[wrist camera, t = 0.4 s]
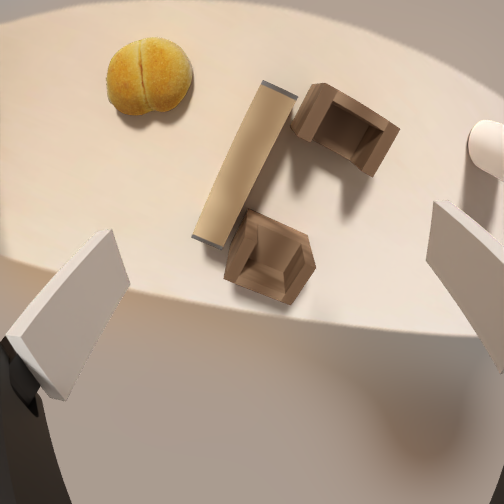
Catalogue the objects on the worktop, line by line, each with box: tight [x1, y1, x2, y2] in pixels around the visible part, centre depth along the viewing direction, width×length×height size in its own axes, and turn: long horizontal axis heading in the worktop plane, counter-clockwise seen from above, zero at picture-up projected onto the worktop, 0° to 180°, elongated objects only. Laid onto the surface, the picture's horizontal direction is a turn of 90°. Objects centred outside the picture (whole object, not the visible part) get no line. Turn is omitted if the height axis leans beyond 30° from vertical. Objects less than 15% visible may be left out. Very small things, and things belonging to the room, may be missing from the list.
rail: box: [191, 80, 298, 250], centre depth 29 cm, size 3×16×6 cm, turn 155°
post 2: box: [290, 83, 400, 177], centre depth 26 cm, size 7×5×7 cm
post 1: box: [224, 209, 316, 305], centre depth 33 cm, size 7×5×7 cm
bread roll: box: [106, 37, 193, 115], centre depth 26 cm, size 8×9×4 cm
